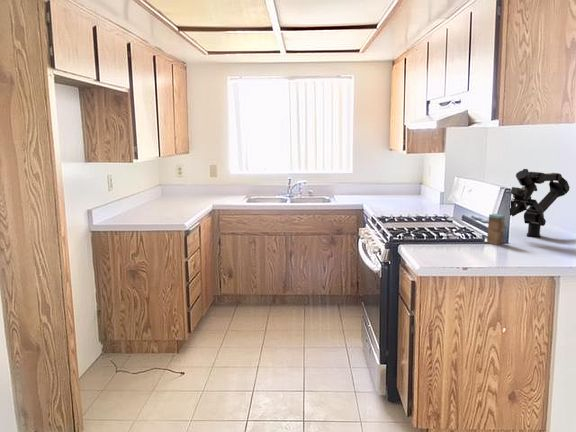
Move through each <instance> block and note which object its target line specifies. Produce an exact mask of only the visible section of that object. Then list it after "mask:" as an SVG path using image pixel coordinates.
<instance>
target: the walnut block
mask: <svg viewBox="0 0 576 432" xmlns="http://www.w3.org/2000/svg"><path fill="white" fill-rule="evenodd" d="M499 214H500V213H492V214H489V215H488V227H487V239H486V243H487V244H489V245H490V244H491V245H495V246H496V245H503V242H504V241H503V240H504V230H505V217H506V215H504V214H500V215H499Z"/></svg>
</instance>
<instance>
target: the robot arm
mask: <svg viewBox="0 0 576 432" xmlns="http://www.w3.org/2000/svg"><path fill="white" fill-rule="evenodd" d="M515 177H516V179H517V181H518V183H519V185H520V186H522V187H521V188H520V187H515V186H511V189H510V191H511V195H512V198H511V197H510V198H511V208H510V207H509V211H510V217H515V216H517V215H518V214H520V213H522V212H524V213H523V221H524V224H528V227H527V233H526V237H534V238H541V237H542V236H541V226H542V227H545V225H546V222H547V220H546V219H545V216H544V215H545V214H544V213H545V212H546V211H547V210H548V208H549V207H550V206H551V205H553V203H554V202H555V201H556V200H557V199H558V198H560V197H563V196H565V195H567V193H568V192H569V191H570V188H571V187H570V185H569V182H568V180H566V179H565V178H564V177H563V176H562V174H561V173H559V172H550V173H548V172H547V173H544V172H538V171H529V170H528V168H523V169H521V170H519V171H518V172H516V174H515ZM545 182H549V183H548V186H549V192H548V193H546V195H545V196H544V197H543V198H542V199H541V200H540V201H539V202H538V201H537V199H535V198H534V199H532V195H533V193H534V192H538V186H537V184H538V185H539V184H540V185H541V184H544V183H545Z"/></svg>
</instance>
